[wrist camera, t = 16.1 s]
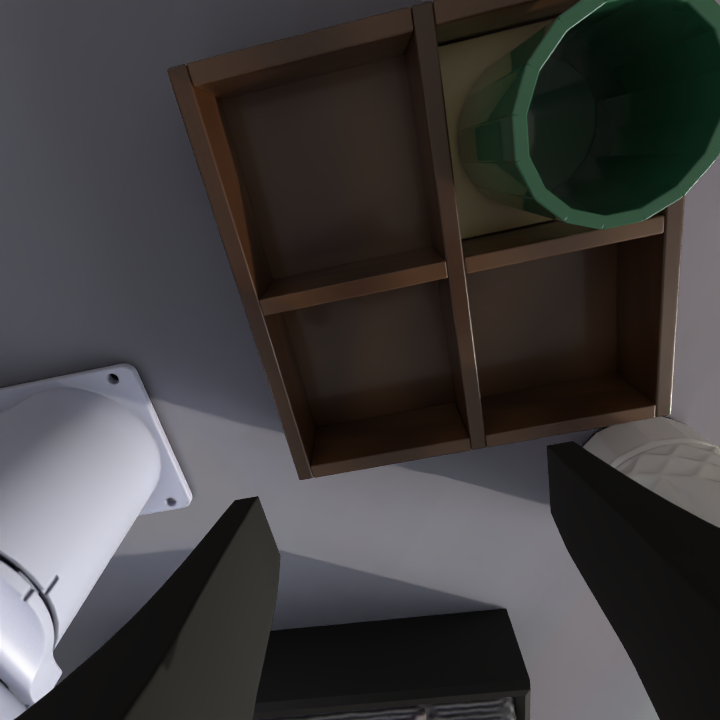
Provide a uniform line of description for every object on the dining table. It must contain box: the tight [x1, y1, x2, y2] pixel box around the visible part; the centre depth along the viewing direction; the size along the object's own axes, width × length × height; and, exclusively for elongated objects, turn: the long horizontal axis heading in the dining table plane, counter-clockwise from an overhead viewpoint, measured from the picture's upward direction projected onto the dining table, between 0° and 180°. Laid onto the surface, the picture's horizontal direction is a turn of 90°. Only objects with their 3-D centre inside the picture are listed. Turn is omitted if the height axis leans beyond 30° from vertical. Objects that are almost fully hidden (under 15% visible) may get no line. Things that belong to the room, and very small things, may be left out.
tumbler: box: [457, 0, 720, 230], centre depth 13 cm, size 5×5×6 cm
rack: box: [167, 0, 685, 480], centre depth 17 cm, size 15×15×4 cm
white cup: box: [583, 416, 720, 528], centre depth 18 cm, size 8×8×10 cm
